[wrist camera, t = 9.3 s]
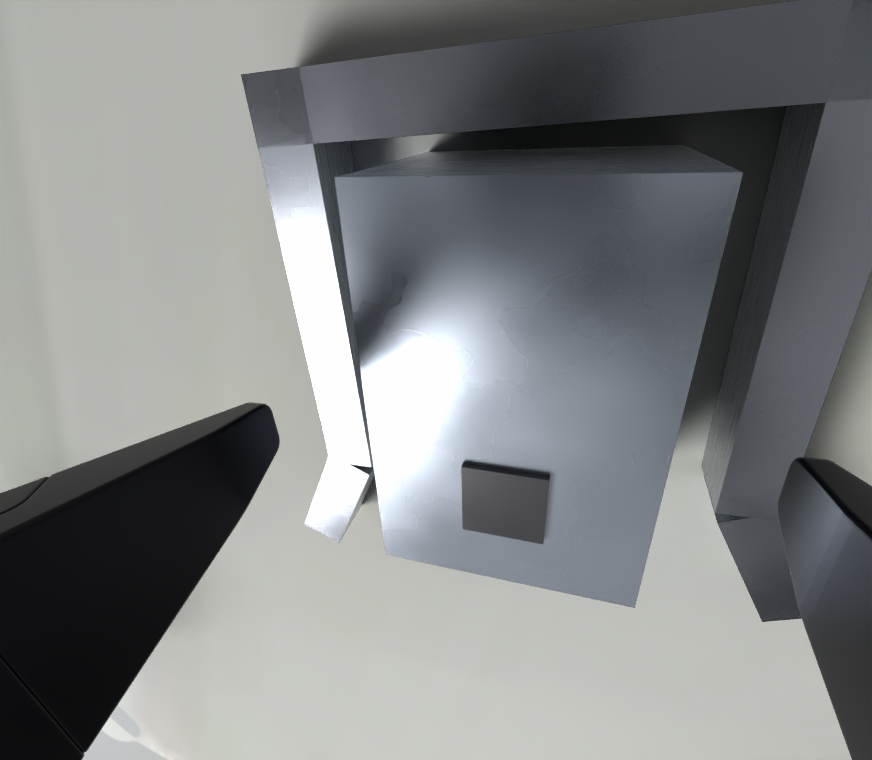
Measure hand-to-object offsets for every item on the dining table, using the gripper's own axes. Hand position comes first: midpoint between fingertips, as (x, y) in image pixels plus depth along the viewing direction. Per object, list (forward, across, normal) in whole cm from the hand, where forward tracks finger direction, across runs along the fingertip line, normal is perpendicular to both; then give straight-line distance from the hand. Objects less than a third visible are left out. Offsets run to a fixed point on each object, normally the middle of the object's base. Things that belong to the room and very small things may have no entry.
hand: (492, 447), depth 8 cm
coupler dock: (+6, 0, 0) cm, 6 cm away
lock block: (+6, 0, 0) cm, 7 cm away
